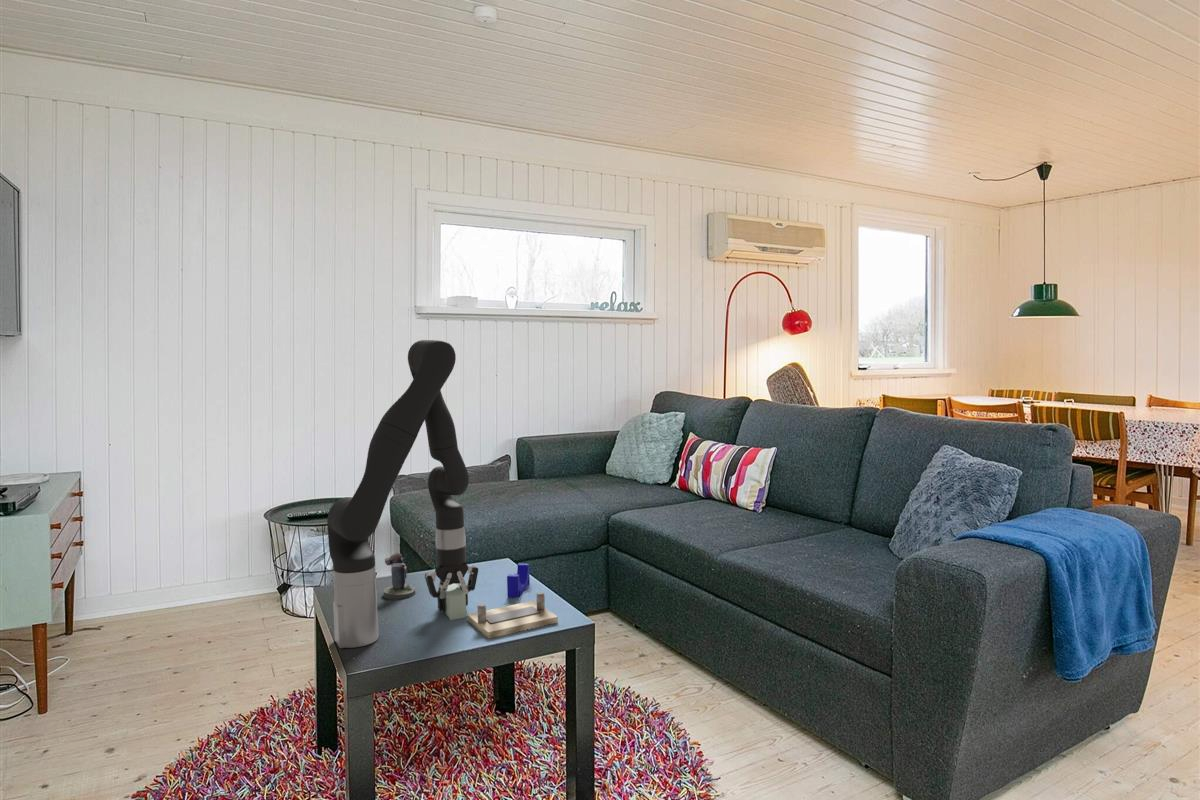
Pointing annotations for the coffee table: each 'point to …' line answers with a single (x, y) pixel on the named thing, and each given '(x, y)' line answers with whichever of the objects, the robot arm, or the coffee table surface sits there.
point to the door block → (455, 602)
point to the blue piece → (518, 580)
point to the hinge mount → (512, 617)
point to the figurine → (398, 579)
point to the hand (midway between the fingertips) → (453, 609)
